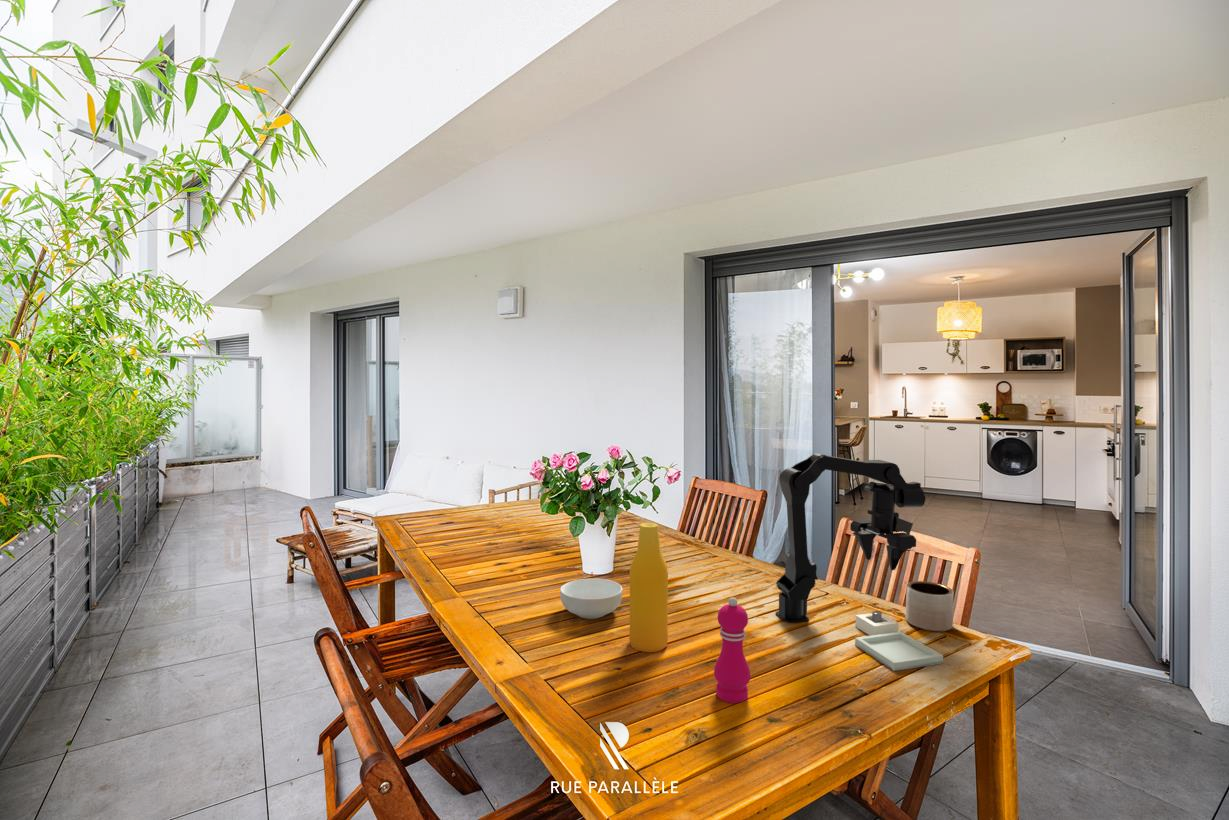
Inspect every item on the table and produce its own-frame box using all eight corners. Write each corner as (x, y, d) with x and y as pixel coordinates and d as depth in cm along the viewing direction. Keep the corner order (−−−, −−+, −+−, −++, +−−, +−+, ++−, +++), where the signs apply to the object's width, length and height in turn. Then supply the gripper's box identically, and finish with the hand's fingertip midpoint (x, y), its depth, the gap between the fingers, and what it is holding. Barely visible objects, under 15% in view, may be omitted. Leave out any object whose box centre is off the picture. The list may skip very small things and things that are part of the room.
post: (875, 633, 148) (876, 615, 148) (869, 629, 150) (870, 612, 150) (883, 631, 149) (883, 614, 149) (877, 628, 151) (877, 611, 151)
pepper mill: (709, 686, 123) (710, 591, 122) (744, 684, 123) (745, 590, 122) (719, 705, 115) (719, 605, 114) (755, 703, 116) (756, 603, 115)
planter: (947, 618, 157) (949, 583, 157) (956, 635, 147) (958, 597, 146) (902, 613, 161) (903, 578, 160) (908, 629, 150) (909, 592, 150)
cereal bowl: (632, 607, 165) (632, 582, 164) (606, 630, 150) (606, 603, 149) (578, 597, 172) (578, 574, 172) (548, 619, 157) (548, 592, 157)
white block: (874, 638, 145) (874, 626, 145) (855, 626, 152) (855, 615, 152) (898, 634, 147) (898, 623, 147) (878, 623, 154) (878, 612, 154)
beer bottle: (656, 656, 136) (657, 531, 134) (622, 646, 141) (622, 526, 139) (674, 641, 144) (675, 523, 142) (641, 632, 148) (641, 518, 147)
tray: (894, 671, 129) (894, 663, 129) (855, 645, 141) (855, 637, 141) (942, 663, 132) (943, 655, 132) (900, 638, 145) (900, 631, 145)
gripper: (934, 513, 152) (931, 573, 153) (882, 499, 170) (880, 552, 171) (899, 516, 149) (896, 576, 150) (850, 500, 167) (847, 555, 168)
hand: (880, 564), depth 160 cm, fingers open, 9 cm apart
